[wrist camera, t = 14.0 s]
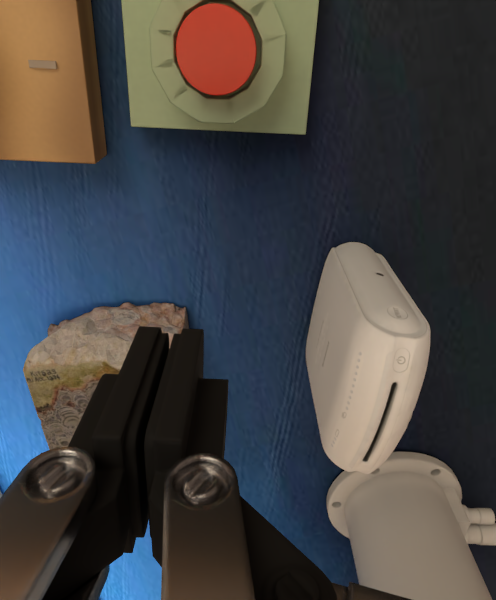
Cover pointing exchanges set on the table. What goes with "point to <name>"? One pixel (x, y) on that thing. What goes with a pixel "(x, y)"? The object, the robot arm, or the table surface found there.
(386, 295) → the photo printer
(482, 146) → the table surface
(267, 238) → the table surface
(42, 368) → the geological specimen
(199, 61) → the release button
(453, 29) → the table surface
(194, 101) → the button block
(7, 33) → the panel
